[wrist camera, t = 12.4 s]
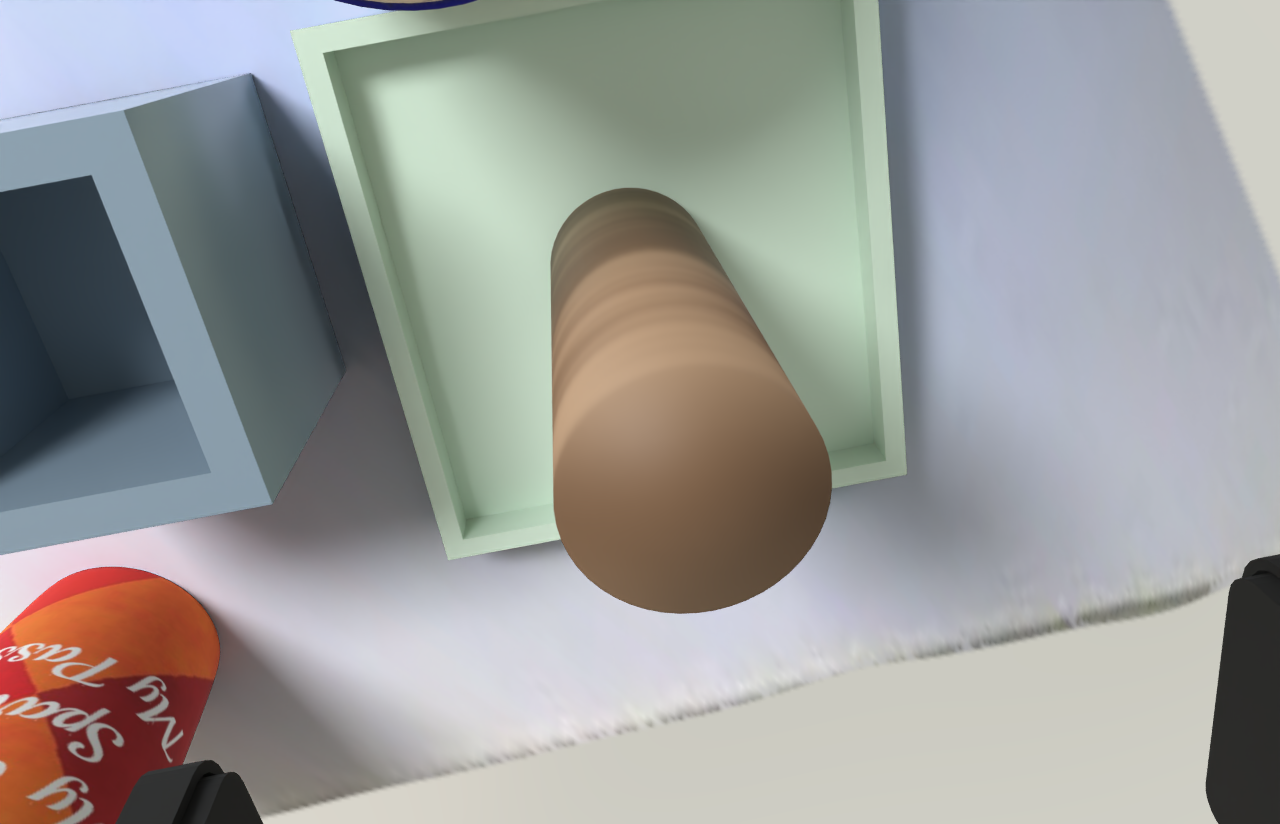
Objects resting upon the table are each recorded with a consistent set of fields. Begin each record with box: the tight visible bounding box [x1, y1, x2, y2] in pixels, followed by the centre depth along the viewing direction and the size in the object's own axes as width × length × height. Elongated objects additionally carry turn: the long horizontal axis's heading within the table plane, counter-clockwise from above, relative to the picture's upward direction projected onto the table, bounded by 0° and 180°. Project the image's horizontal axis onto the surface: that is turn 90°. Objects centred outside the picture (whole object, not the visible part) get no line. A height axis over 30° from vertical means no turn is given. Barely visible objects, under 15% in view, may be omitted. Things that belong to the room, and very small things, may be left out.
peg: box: [550, 188, 832, 614], centre depth 21 cm, size 4×4×13 cm
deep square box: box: [0, 73, 346, 555], centre depth 23 cm, size 8×8×8 cm
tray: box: [290, 0, 907, 560], centre depth 27 cm, size 15×14×2 cm
